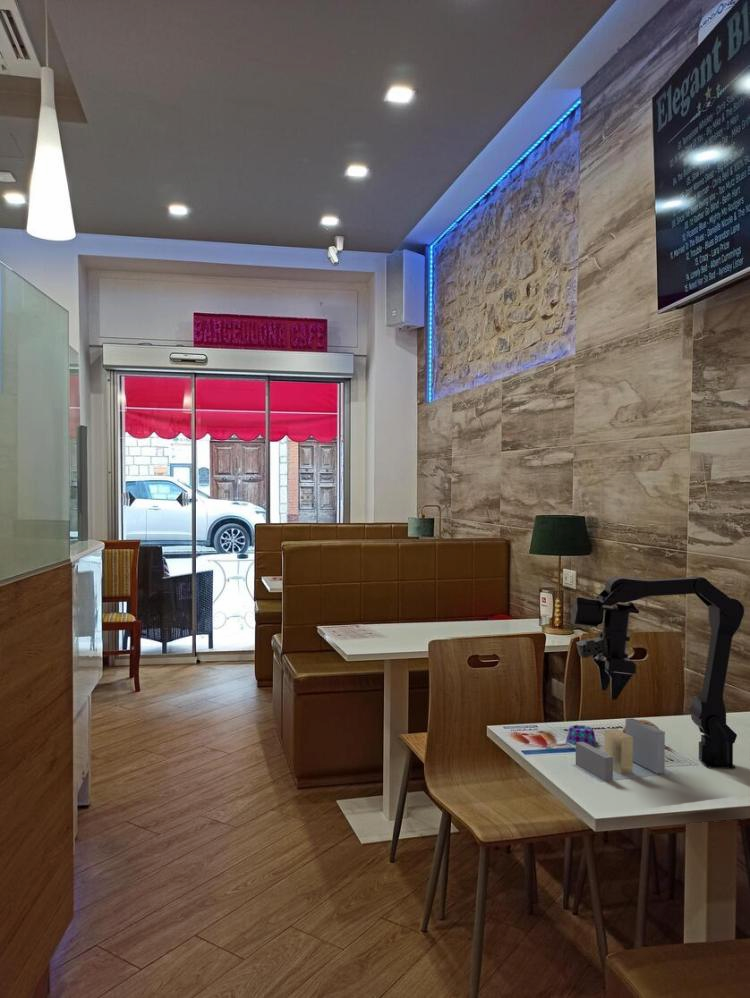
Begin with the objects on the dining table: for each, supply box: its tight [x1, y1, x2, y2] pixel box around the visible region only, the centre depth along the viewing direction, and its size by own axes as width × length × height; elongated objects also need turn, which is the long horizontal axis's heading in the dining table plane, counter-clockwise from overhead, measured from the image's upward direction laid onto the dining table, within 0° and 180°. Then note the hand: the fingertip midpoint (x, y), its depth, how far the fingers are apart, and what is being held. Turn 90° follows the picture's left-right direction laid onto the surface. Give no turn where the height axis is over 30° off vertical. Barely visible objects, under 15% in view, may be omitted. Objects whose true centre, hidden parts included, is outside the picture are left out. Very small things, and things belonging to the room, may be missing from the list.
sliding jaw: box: [625, 717, 666, 774], centre depth 169 cm, size 2×11×9 cm, turn 18°
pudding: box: [556, 724, 597, 747], centre depth 187 cm, size 12×12×5 cm
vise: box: [571, 742, 674, 783], centre depth 167 cm, size 19×11×6 cm, turn 108°
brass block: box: [604, 728, 633, 775], centre depth 167 cm, size 3×6×8 cm, turn 18°
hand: (608, 694), depth 177 cm, fingers open, 9 cm apart
